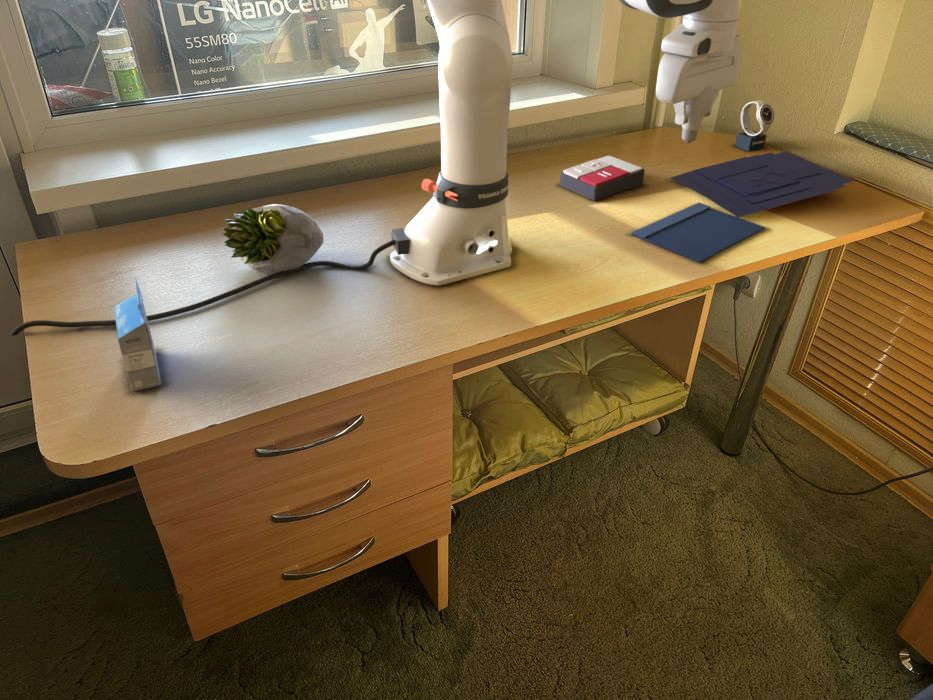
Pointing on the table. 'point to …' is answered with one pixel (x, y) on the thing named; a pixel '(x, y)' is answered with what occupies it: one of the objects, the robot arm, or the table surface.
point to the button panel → (602, 177)
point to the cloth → (698, 232)
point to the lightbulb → (697, 113)
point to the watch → (749, 137)
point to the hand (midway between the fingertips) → (692, 119)
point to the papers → (761, 182)
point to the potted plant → (273, 238)
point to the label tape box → (136, 343)
